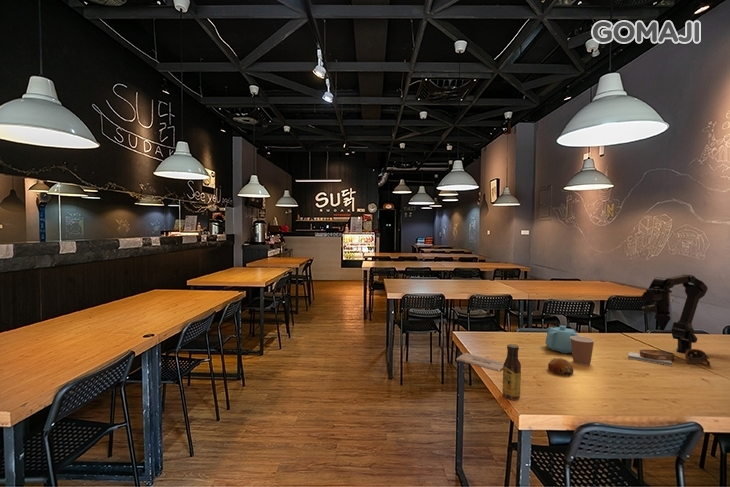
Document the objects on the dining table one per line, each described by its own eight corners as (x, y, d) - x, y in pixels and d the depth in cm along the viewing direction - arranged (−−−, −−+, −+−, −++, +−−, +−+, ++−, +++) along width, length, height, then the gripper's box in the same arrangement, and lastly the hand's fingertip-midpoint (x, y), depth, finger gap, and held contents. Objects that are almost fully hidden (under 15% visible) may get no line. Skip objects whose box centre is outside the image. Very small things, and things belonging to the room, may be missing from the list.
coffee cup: (592, 361, 173) (592, 337, 173) (596, 368, 164) (596, 342, 164) (568, 358, 177) (568, 334, 177) (570, 364, 168) (571, 339, 168)
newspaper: (510, 366, 167) (510, 361, 167) (499, 375, 158) (499, 370, 158) (466, 354, 183) (466, 350, 182) (454, 362, 174) (454, 358, 174)
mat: (629, 352, 187) (629, 350, 187) (671, 359, 176) (671, 356, 176) (628, 358, 178) (628, 355, 178) (672, 366, 167) (672, 363, 167)
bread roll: (571, 379, 159) (569, 361, 163) (576, 377, 151) (574, 357, 154) (547, 376, 163) (546, 358, 166) (551, 373, 154) (549, 355, 157)
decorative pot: (545, 352, 187) (545, 327, 187) (545, 344, 201) (546, 321, 201) (580, 357, 179) (581, 331, 179) (578, 349, 193) (579, 324, 193)
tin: (666, 350, 182) (679, 354, 174) (666, 356, 182) (679, 360, 173) (635, 349, 183) (646, 353, 175) (635, 355, 183) (647, 359, 175)
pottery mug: (717, 368, 166) (713, 355, 164) (697, 376, 167) (693, 362, 165) (695, 354, 177) (691, 341, 176) (676, 361, 179) (672, 348, 177)
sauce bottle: (499, 393, 135) (500, 342, 135) (514, 393, 135) (515, 342, 135) (507, 401, 128) (508, 348, 128) (524, 401, 129) (524, 347, 129)
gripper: (643, 297, 198) (643, 324, 198) (642, 302, 184) (642, 331, 184) (669, 299, 191) (669, 327, 191) (670, 304, 176) (670, 335, 177)
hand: (662, 330), depth 186 cm, fingers closed
